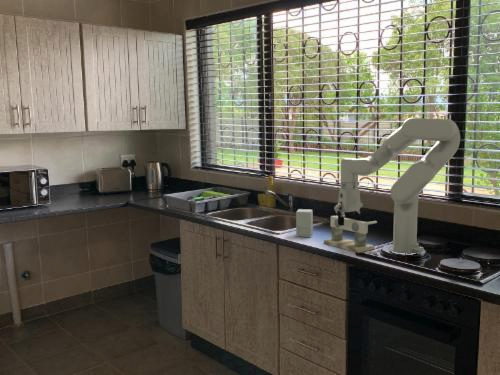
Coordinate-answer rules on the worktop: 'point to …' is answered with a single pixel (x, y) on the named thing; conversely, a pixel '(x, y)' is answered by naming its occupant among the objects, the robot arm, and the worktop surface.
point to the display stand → (348, 241)
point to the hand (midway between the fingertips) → (348, 223)
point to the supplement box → (304, 222)
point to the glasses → (351, 225)
